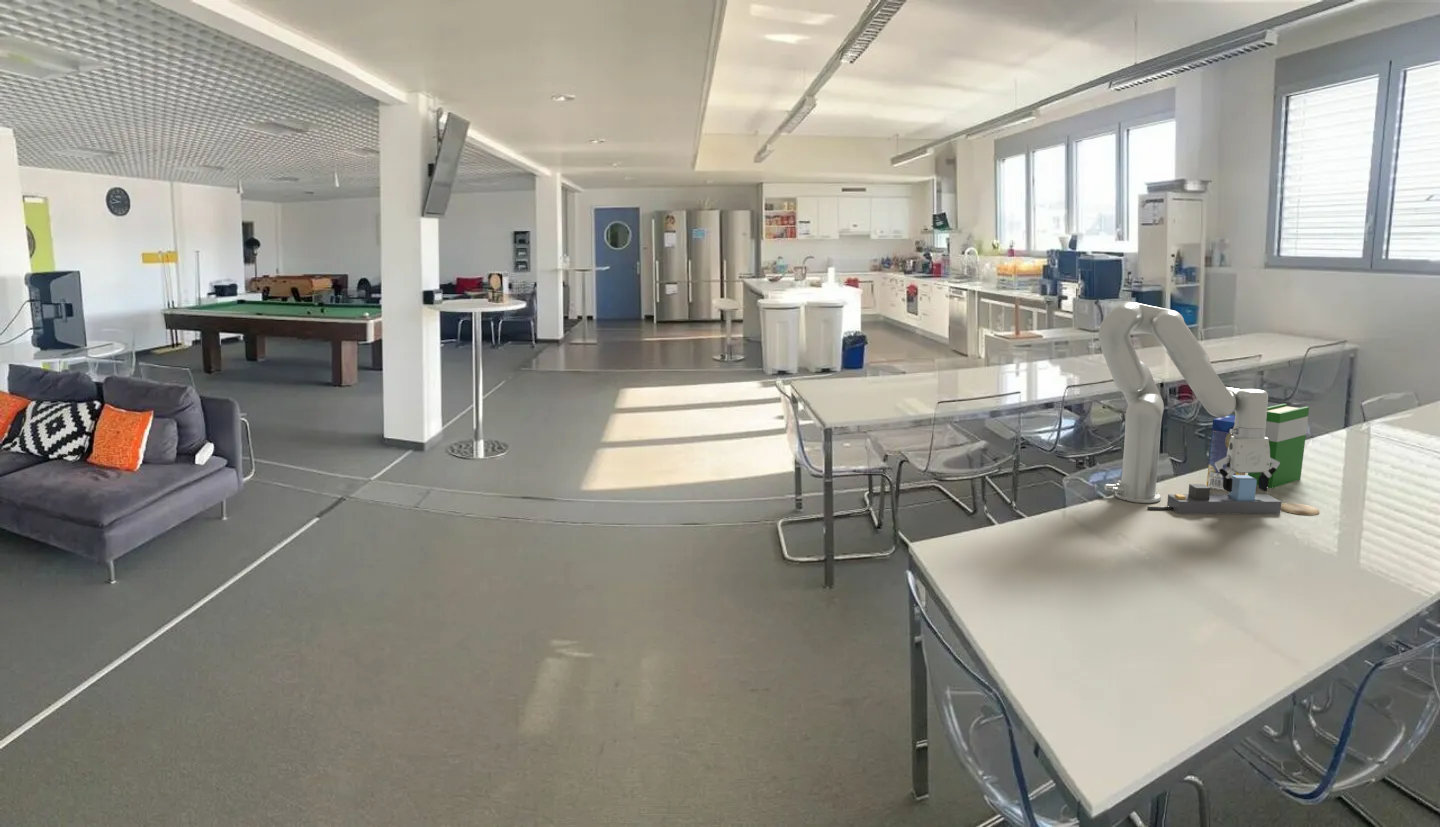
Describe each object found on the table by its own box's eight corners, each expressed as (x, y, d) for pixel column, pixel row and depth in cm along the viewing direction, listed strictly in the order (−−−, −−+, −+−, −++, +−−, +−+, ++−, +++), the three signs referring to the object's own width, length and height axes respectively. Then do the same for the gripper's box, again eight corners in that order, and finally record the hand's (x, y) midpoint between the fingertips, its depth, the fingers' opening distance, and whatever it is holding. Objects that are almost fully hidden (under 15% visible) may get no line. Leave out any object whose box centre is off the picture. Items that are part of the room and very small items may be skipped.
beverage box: (1244, 484, 262) (1251, 417, 257) (1229, 491, 255) (1237, 422, 251) (1220, 480, 267) (1227, 414, 263) (1206, 487, 260) (1212, 419, 256)
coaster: (1290, 515, 232) (1290, 513, 232) (1269, 504, 242) (1270, 503, 242) (1327, 515, 232) (1327, 513, 232) (1305, 504, 241) (1305, 503, 241)
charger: (1237, 506, 236) (1240, 479, 234) (1228, 501, 240) (1231, 475, 239) (1253, 506, 235) (1256, 479, 234) (1244, 501, 240) (1247, 475, 238)
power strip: (1153, 513, 237) (1155, 489, 235) (1142, 506, 244) (1144, 482, 242) (1280, 513, 234) (1282, 489, 233) (1265, 505, 241) (1268, 482, 239)
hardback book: (1275, 474, 272) (1284, 403, 268) (1300, 479, 266) (1309, 407, 261) (1247, 482, 264) (1255, 410, 259) (1271, 488, 257) (1280, 413, 253)
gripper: (1224, 436, 230) (1220, 494, 234) (1289, 434, 229) (1284, 493, 232) (1211, 430, 238) (1207, 487, 241) (1273, 428, 236) (1268, 486, 240)
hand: (1245, 490), depth 237 cm, fingers open, 9 cm apart
